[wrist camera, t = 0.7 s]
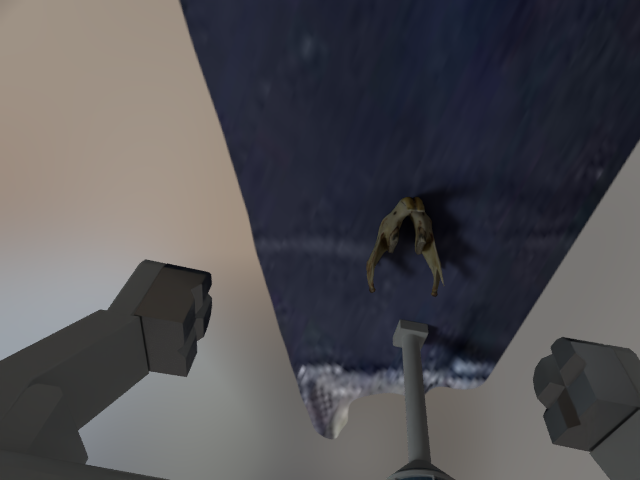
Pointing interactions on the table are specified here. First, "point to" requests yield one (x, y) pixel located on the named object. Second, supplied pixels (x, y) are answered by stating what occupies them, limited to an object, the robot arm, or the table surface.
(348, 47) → the table surface
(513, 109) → the table surface
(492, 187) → the table surface
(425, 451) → the model tower
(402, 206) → the jawbone
